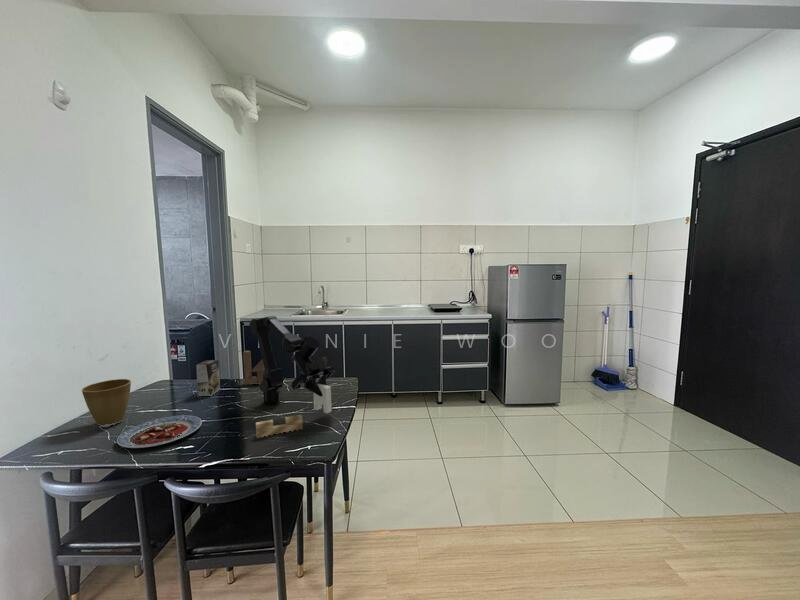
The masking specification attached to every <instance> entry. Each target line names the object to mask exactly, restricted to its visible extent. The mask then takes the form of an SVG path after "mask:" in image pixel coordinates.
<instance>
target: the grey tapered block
mask: <svg viewBox="0 0 800 600" xmlns="http://www.w3.org/2000/svg"><path fill="white" fill-rule="evenodd" d="M317 385H318V387H319V389H320V391H321V392H322V396H321V397H320V396H319V395H317V394H315V393H314V392H312V393H313V410H315V411H319V410H320V409H322V406H323V413H324V414H329V413H331V412H332V411H333V410H332V386H329V385H327V384H326V385H327V386H326V385H322V384H317Z"/></svg>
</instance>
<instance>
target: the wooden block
mask: <svg viewBox="0 0 800 600" xmlns="http://www.w3.org/2000/svg"><path fill="white" fill-rule="evenodd" d="M242 354H243V371H244V372H243V374H244V378H243V385H244V384H251V383H262V381H263V373H264V370H265V368H264V364H263V360H262V359H260V361H259V362H258V363H257V364H256V365H255V366H254V367H253V368H252V357H251V356H252V355H251V354H252V353H251V350H244V351H243V352H242ZM252 373H256V375H257V376H253V375H252Z"/></svg>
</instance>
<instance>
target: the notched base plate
mask: <svg viewBox="0 0 800 600" xmlns="http://www.w3.org/2000/svg"><path fill="white" fill-rule="evenodd" d="M299 429H301V430H303V429H304V427H303V415H302V414H297V415H291V416H286V417H285V423H282V424H278V425H277V424H276V425H274V420H273V419H269V420H263V421H262V420H261V421H257V422H255V430H256V431H255V433H256V434H255V435H256V439H260V437H261V438H265V437H264V436H266V437H269V436H268V435H271V436H274V435H273V434H276V435H279V434H278V433H281V434H284V433H283V432H286V433H290V432H289V431H291V432H295V431H294V430H296V431H300V430H299Z"/></svg>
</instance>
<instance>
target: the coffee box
mask: <svg viewBox="0 0 800 600" xmlns="http://www.w3.org/2000/svg"><path fill="white" fill-rule="evenodd" d="M195 367H196V381H197V382H196V385H197V397H198V396H211V397H212V395H213V394H214V395H215V393H216V392H217V393H219V392H220V391H221V386H220V385H221V384H220V365H219V359H211V360H207V359H206V360H204V361H201V362H200V363H197V364H196V366H195ZM219 390H220V391H219ZM218 391H219V392H218ZM217 393H216V394H217ZM214 395H213V396H214Z"/></svg>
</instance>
